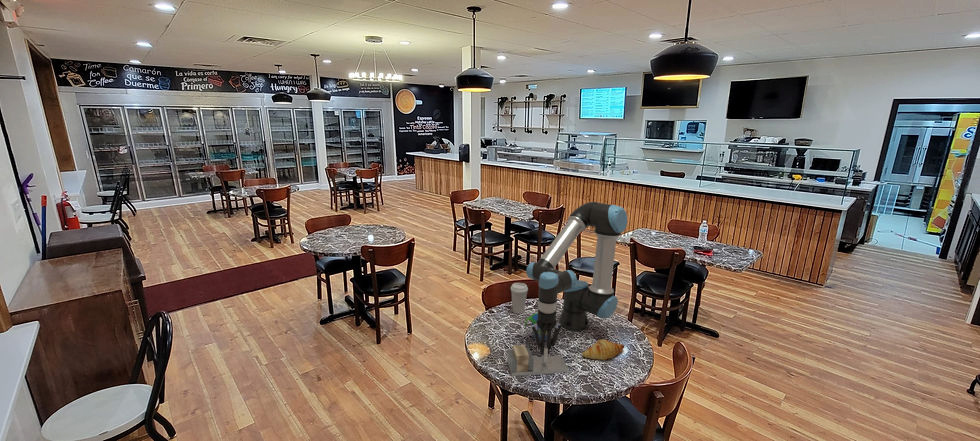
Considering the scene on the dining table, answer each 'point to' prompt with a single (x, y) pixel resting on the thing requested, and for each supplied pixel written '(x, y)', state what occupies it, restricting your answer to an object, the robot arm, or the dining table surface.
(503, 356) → the dining table surface
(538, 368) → the vise bed
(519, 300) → the coffee cup
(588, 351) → the croissant
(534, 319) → the snack cup
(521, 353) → the block
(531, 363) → the sliding jaw
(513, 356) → the fixed jaw
